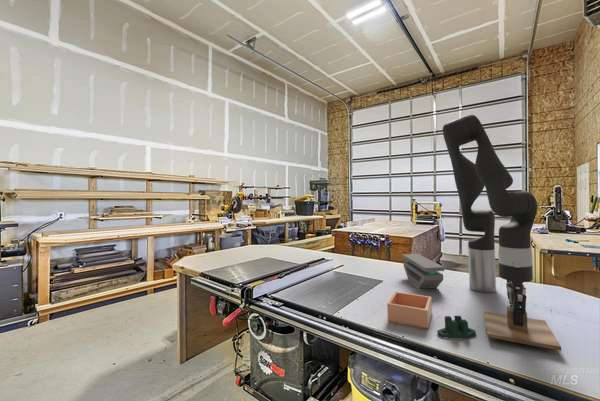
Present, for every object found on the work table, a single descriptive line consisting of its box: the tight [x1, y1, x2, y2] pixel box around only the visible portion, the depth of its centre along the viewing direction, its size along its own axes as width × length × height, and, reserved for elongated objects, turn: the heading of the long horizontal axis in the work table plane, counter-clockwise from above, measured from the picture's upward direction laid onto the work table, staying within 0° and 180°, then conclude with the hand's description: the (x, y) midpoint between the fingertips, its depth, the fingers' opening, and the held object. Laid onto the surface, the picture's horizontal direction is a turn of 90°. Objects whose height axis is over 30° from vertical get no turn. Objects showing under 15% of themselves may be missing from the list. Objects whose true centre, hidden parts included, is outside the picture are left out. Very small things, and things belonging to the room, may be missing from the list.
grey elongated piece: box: [401, 253, 445, 289], centre depth 122 cm, size 25×8×11 cm, turn 179°
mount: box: [436, 315, 477, 339], centre depth 79 cm, size 11×4×5 cm, turn 91°
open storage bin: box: [386, 291, 433, 330], centre depth 90 cm, size 12×12×6 cm
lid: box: [483, 305, 562, 352], centre depth 76 cm, size 15×15×6 cm
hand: (516, 321), depth 76 cm, fingers closed on lid, 4 cm apart
